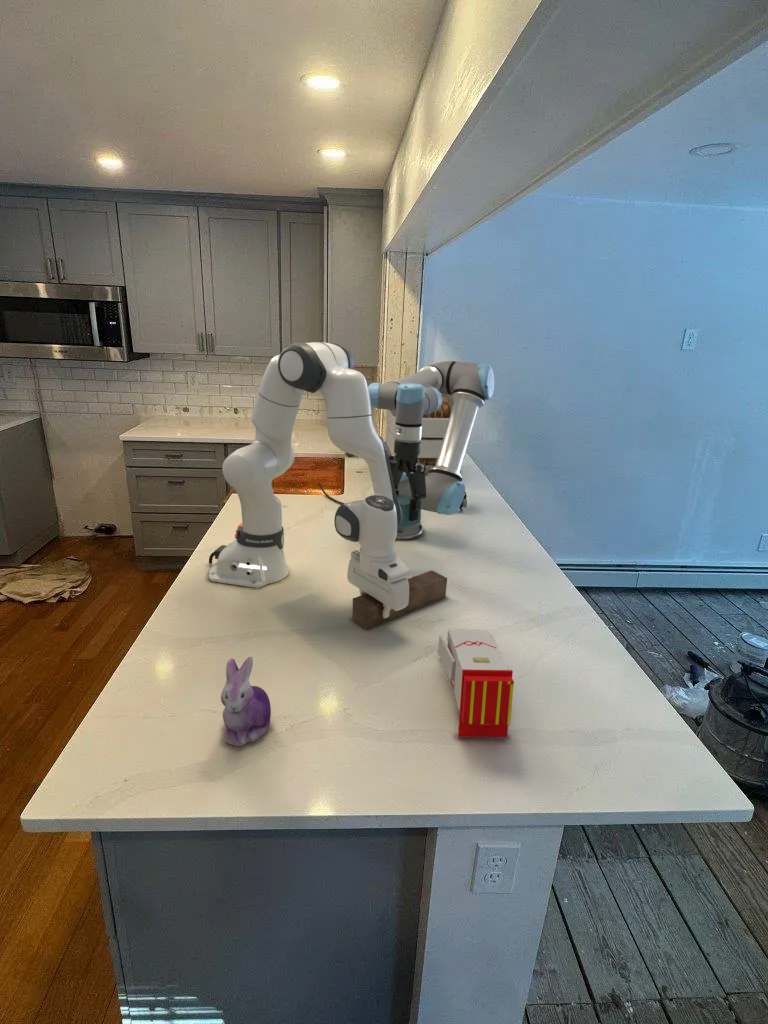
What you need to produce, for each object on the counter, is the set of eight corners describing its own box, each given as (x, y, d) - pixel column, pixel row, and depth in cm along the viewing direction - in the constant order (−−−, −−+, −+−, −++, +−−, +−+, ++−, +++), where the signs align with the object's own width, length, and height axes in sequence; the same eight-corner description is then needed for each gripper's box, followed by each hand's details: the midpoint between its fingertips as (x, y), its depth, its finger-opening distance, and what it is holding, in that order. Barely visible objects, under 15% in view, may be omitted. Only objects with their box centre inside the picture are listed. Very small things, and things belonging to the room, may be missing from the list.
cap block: (402, 527, 163) (403, 505, 161) (384, 519, 169) (385, 497, 166) (420, 523, 167) (421, 500, 165) (402, 515, 173) (403, 493, 171)
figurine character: (467, 516, 223) (461, 500, 237) (469, 499, 220) (463, 483, 233) (450, 516, 223) (446, 499, 236) (452, 498, 220) (447, 483, 233)
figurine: (228, 756, 99) (223, 684, 94) (215, 719, 107) (210, 651, 102) (280, 740, 103) (279, 670, 98) (264, 706, 111) (262, 640, 106)
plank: (366, 629, 140) (367, 607, 138) (352, 619, 144) (352, 598, 142) (445, 597, 157) (447, 578, 155) (430, 589, 161) (431, 570, 159)
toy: (488, 613, 130) (523, 677, 101) (484, 667, 133) (517, 744, 104) (435, 612, 130) (455, 676, 101) (432, 666, 133) (451, 743, 103)
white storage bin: (382, 463, 289) (386, 382, 275) (445, 464, 293) (451, 384, 279) (390, 482, 257) (394, 392, 243) (460, 483, 261) (468, 394, 247)
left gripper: (342, 550, 145) (341, 598, 150) (394, 579, 131) (392, 631, 135) (361, 544, 149) (359, 591, 154) (414, 572, 134) (411, 623, 139)
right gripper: (374, 434, 165) (371, 508, 172) (424, 449, 150) (418, 529, 158) (393, 431, 169) (389, 503, 177) (443, 445, 155) (437, 523, 162)
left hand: (375, 610), depth 144 cm, fingers closed on plank, 6 cm apart
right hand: (403, 515), depth 167 cm, fingers closed on cap block, 8 cm apart
